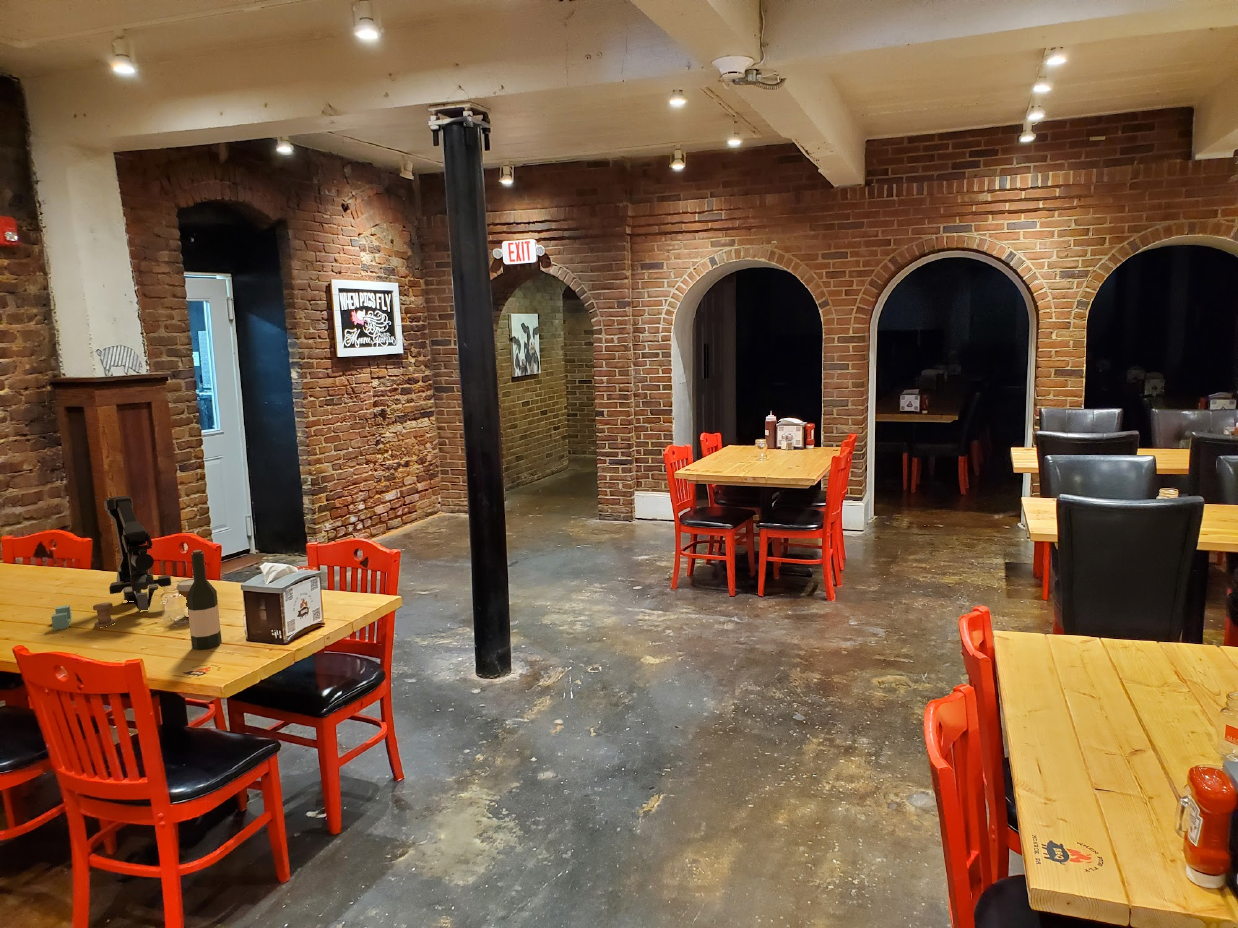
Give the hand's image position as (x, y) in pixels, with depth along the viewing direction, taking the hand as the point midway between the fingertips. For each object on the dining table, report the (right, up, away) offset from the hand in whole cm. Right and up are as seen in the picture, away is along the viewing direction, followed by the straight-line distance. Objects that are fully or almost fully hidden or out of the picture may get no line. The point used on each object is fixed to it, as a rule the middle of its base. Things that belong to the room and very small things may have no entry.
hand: (143, 607), depth 294 cm
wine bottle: (+41, -5, -37) cm, 55 cm away
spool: (-5, -3, -14) cm, 16 cm away
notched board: (-20, -4, -12) cm, 24 cm away
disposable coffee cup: (+22, -2, -7) cm, 23 cm away
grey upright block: (0, -1, 0) cm, 1 cm away
